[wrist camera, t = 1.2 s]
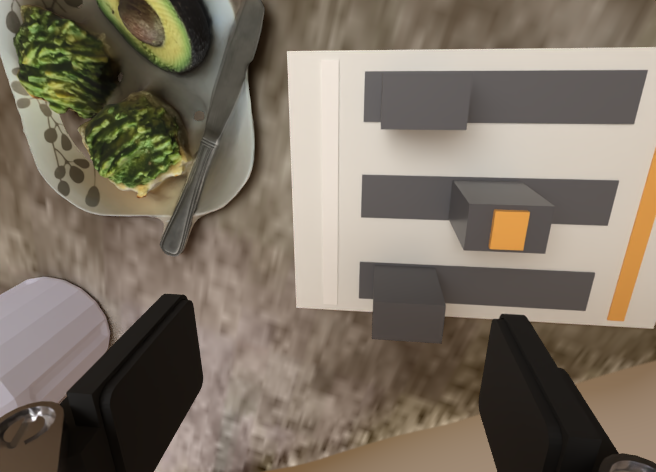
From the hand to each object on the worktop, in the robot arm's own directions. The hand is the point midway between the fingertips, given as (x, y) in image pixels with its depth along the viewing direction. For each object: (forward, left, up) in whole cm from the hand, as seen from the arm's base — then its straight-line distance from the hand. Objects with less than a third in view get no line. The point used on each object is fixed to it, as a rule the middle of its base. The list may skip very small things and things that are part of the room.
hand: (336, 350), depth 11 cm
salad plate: (+15, -6, -19) cm, 25 cm away
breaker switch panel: (-8, 0, -18) cm, 20 cm away
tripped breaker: (-8, 0, -16) cm, 18 cm away
